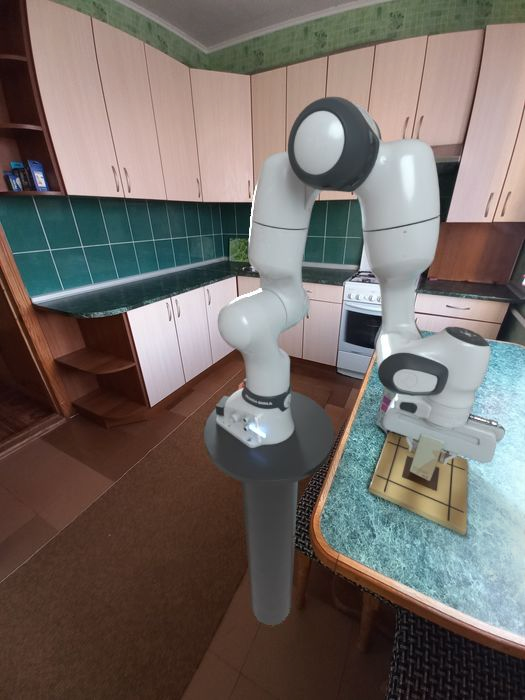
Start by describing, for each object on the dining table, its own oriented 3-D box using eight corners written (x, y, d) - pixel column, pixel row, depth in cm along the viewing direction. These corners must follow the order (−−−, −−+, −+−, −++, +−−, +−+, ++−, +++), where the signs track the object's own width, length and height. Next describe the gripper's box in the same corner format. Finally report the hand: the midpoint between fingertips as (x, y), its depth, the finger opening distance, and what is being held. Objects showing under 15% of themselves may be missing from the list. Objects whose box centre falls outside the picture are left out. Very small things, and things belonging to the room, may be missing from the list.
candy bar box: (388, 436, 79) (400, 386, 71) (374, 424, 83) (384, 376, 75) (417, 423, 83) (431, 375, 75) (402, 413, 87) (415, 366, 80)
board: (368, 491, 64) (369, 486, 63) (387, 435, 79) (388, 431, 78) (464, 535, 56) (466, 530, 55) (465, 463, 70) (467, 458, 70)
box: (429, 481, 63) (443, 444, 58) (408, 471, 65) (420, 434, 60) (435, 466, 66) (449, 430, 61) (415, 457, 69) (426, 421, 64)
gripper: (507, 415, 55) (483, 466, 61) (393, 383, 65) (382, 430, 71) (510, 435, 50) (484, 488, 57) (386, 398, 60) (376, 447, 67)
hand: (426, 456), depth 64 cm, fingers closed on box, 4 cm apart
